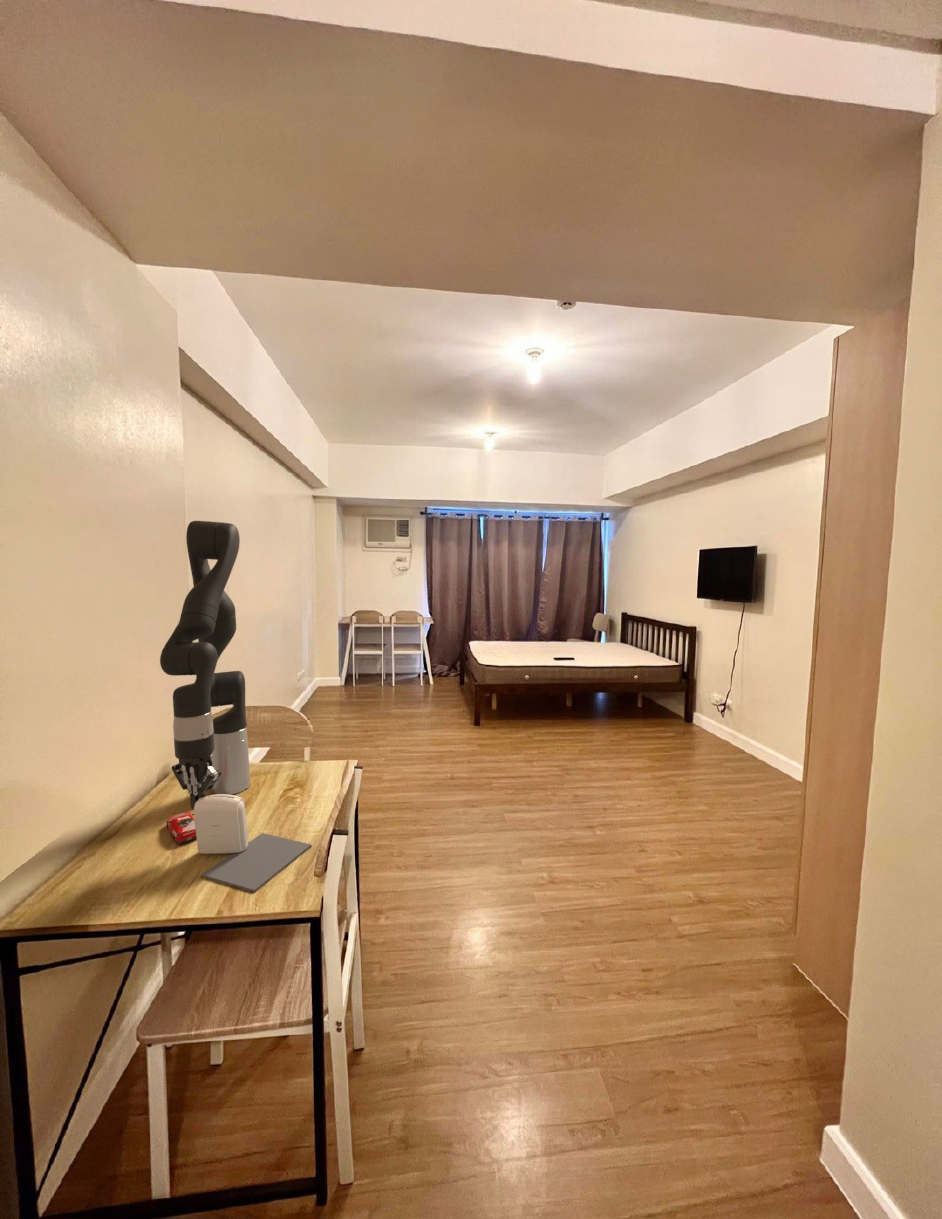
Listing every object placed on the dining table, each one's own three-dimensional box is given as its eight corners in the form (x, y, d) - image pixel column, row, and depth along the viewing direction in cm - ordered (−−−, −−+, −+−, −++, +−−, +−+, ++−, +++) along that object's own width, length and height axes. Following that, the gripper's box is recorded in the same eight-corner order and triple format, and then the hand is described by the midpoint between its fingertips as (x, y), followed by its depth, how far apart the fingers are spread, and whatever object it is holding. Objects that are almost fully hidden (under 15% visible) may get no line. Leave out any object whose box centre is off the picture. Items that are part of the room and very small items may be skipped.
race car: (165, 826, 116) (163, 810, 116) (190, 818, 120) (189, 803, 119) (175, 849, 106) (173, 831, 106) (202, 839, 110) (201, 823, 109)
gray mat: (201, 876, 96) (200, 874, 96) (262, 835, 111) (262, 833, 111) (254, 892, 91) (254, 890, 91) (311, 846, 105) (311, 844, 105)
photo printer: (194, 855, 102) (188, 801, 100) (205, 843, 106) (200, 790, 105) (242, 855, 102) (237, 800, 100) (251, 842, 106) (247, 790, 105)
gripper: (156, 734, 103) (161, 811, 105) (200, 743, 98) (204, 823, 100) (188, 723, 110) (192, 795, 112) (230, 731, 105) (234, 806, 107)
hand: (198, 808), depth 106 cm, fingers closed
